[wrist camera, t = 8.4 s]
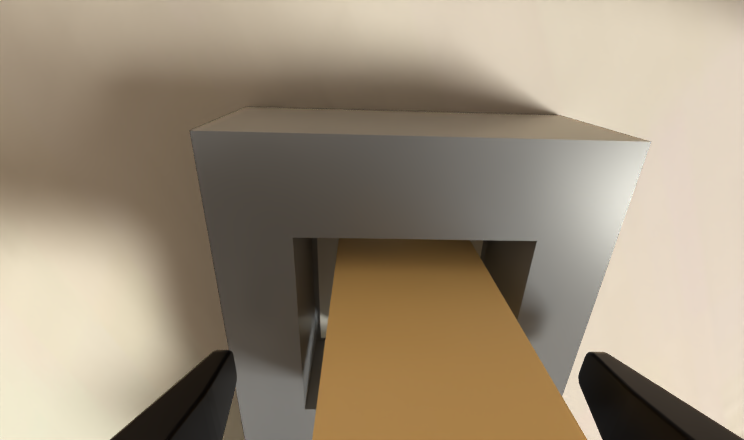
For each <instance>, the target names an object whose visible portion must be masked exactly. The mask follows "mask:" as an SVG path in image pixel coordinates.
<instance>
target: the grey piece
mask: <svg viewBox="0 0 744 440" xmlns="http://www.w3.org/2000/svg"><path fill="white" fill-rule="evenodd" d="M190 135H191V141H192V146H193V152H194V158H195V163H196V169H197V174H198V180H199V186H200V191H201V197H202V202H203V208H204V213H205V219H206V225H207V230H208V236H209V241H210V247H211V253H212V258H213V264H214V269H215V275H216V280H217V286H218V292H219V297H220V303H221V308H222V314H223V319H224V325H225V331H226V336H227V342H228V347H229V350H230V351H232V352H233V355H234V360H235V366H236V372H237V382H236V392H237V398H238V403H239V409H240V414H241V420H242V426H243V431H244V437H245V440H312V437H313V430H314V422H315V415H316V407H317V400H318V392H319V385H320V377H321V369H322V362H323V354H324V347H325V339H326V332H327V324H328V317H329V309H330V301H331V294H332V286H333V279H334V271H335V264H336V256H337V249H338V241H339V238H362V239H430V240H470V241H471V243H472V245H473V246H474V248H475V250H476V251H477V253H478V255H479V256H480V258H481V260H482V262H483V263H484V265H485V267H486V268H487V270H488V272H489V273H490V275H491V277H492V279H493V280H494V282H495V284H496V285H497V287H498V289H499V290H500V292H501V294H502V296H503V297H504V299H505V301H506V302H507V304H508V306H509V307H510V309H511V311H512V313H513V314H514V316H515V318H516V319H517V321H518V323H519V324H520V326H521V328H522V330H523V331H524V333H525V335H526V336H527V338H528V340H529V341H530V343H531V345H532V347H533V348H534V350H535V352H536V353H537V355H538V357H539V359H540V360H541V362H542V364H543V365H544V367H545V369H546V370H547V372H548V374H549V376H550V377H551V379H552V381H553V382H554V384H555V386H556V387H557V389H558V391H559V393H560V394H561V396H562V395H563V392H564V389H565V386H566V384H567V381H568V378H569V375H570V372H571V369H572V366H573V364H574V361H575V358H576V355H577V352H578V349H579V347H580V344H581V341H582V338H583V335H584V332H585V329H586V327H587V324H588V321H589V318H590V315H591V312H592V309H593V307H594V304H595V301H596V298H597V295H598V292H599V289H600V287H601V284H602V281H603V278H604V275H605V272H606V269H607V267H608V264H609V261H610V258H611V255H612V252H613V250H614V247H615V244H616V241H617V238H618V235H619V232H620V230H621V227H622V224H623V221H624V218H625V215H626V212H627V210H628V207H629V204H630V201H631V198H632V195H633V192H634V190H635V187H636V184H637V181H638V178H639V175H640V172H641V170H642V167H643V164H644V161H645V158H646V155H647V152H648V150H649V147H650V144H651V142H650V141H647V140H644V139H640V138H637V137H633V136H630V135H626V134H623V133H620V132H616V131H613V130H609V129H606V128H602V127H599V126H595V125H592V124H589V123H585V122H582V121H578V120H575V119H571V118H568V117H565V116H561V115H534V114H497V113H459V112H422V111H384V110H347V109H309V108H272V107H244V108H242V109H240V110H237V111H235V112H233V113H230V114H228V115H225V116H223V117H221V118H218V119H216V120H213V121H211V122H209V123H206V124H204V125H202V126H199V127H197V128H194V129H192V130H190Z"/></svg>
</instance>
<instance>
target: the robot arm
mask: <svg viewBox="0 0 744 440" xmlns="http://www.w3.org/2000/svg"><path fill="white" fill-rule="evenodd" d="M578 379H579V384H580V387H581V389H582V392H583V394H584V397H585V399H586V401H587V404H588V406H589V409H590V411H591V413H592V416H593V418H594V421H595V423H596V425H597V428H598V430H599V433H600V435H601V437H602V439H603V440H744V439H742V438H741V437H739V436H737V435H736V434H734V433H733V432H731V431H729V430H728V429H726V428H725V427H723V426H722V425H720V424H718V423H717V422H715V421H714V420H712V419H710V418H709V417H707V416H706V415H704V414H703V413H701V412H699V411H698V410H696V409H695V408H693V407H691V406H690V405H688V404H687V403H685V402H684V401H682V400H680V399H679V398H677V397H676V396H674V395H672V394H671V393H669V392H668V391H666V390H665V389H663V388H661V387H660V386H658V385H657V384H655V383H654V382H652V381H650V380H649V379H647V378H646V377H644V376H642V375H641V374H639V373H638V372H636V371H635V370H633V369H631V368H630V367H628V366H627V365H625V364H623V363H622V362H620V361H619V360H617V359H616V358H614V357H612V356H611V355H609V354H607V353H605V352H588V353H587V354H586V356H585V358H584V361H583V364H582V367H581V369H580V372H579V377H578ZM236 382H237V372H236V366H235V360H234V355H233V352H232V351H230V350H216V351H214V352H212V353H211V354H210V355H209V356H208V357H206V358H205V359H204V360H203V361H202V362H200V363H199V364H198V365H197V366H196V367H195V368H193V369H192V370H191V371H190V372H189V373H188V374H186V375H185V376H184V377H183V378H182V379H181V380H179V381H178V382H177V383H176V384H175V385H173V386H172V387H171V388H170V389H169V390H168V391H166V392H165V393H164V394H163V395H162V396H161V397H159V398H158V399H157V400H156V401H155V402H154V403H152V404H151V405H150V406H149V407H148V408H147V409H145V410H144V411H143V412H142V413H141V414H139V415H138V416H137V417H136V418H135V419H134V420H132V421H131V422H130V423H129V424H128V425H127V426H125V427H124V428H123V429H122V430H121V431H120V432H118V433H117V434H116V435H115V436H114V437H113V438H111V439H110V440H222V438H223V434H224V430H225V426H226V422H227V418H228V414H229V410H230V407H231V403H232V399H233V395H234V391H235V387H236Z"/></svg>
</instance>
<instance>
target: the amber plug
mask: <svg viewBox="0 0 744 440" xmlns="http://www.w3.org/2000/svg"><path fill="white" fill-rule="evenodd" d="M312 440H587V438H586V437H585V435H584V433H583V432H582V430H581V428H580V427H579V425H578V423H577V421H576V420H575V418H574V416H573V415H572V413H571V411H570V410H569V408H568V406H567V404H566V403H565V401H564V399H563V398H562V396H561V394H560V393H559V391H558V389H557V387H556V386H555V384H554V382H553V381H552V379H551V377H550V376H549V374H548V372H547V370H546V369H545V367H544V365H543V364H542V362H541V360H540V359H539V357H538V355H537V353H536V352H535V350H534V348H533V347H532V345H531V343H530V341H529V340H528V338H527V336H526V335H525V333H524V331H523V330H522V328H521V326H520V324H519V323H518V321H517V319H516V318H515V316H514V314H513V313H512V311H511V309H510V307H509V306H508V304H507V302H506V301H505V299H504V297H503V296H502V294H501V292H500V290H499V289H498V287H497V285H496V284H495V282H494V280H493V279H492V277H491V275H490V273H489V272H488V270H487V268H486V267H485V265H484V263H483V262H482V260H481V258H480V256H479V255H478V253H477V251H476V250H475V248H474V246H473V245H472V243H471V241H470V240H430V239H362V238H339V241H338V249H337V256H336V264H335V271H334V279H333V286H332V294H331V301H330V309H329V317H328V324H327V332H326V339H325V347H324V354H323V362H322V369H321V377H320V385H319V392H318V400H317V407H316V415H315V422H314V430H313V437H312Z"/></svg>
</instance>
